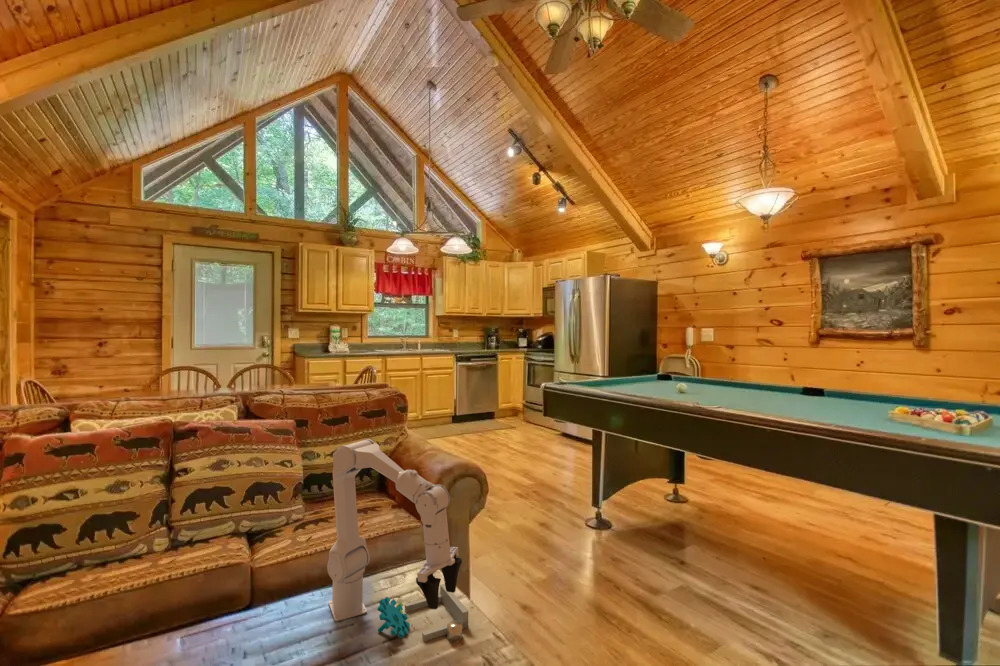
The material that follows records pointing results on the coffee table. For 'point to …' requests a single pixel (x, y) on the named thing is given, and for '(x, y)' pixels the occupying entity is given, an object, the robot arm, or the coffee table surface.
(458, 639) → the bushing
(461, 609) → the cradle
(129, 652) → the coffee table surface
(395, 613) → the gear
